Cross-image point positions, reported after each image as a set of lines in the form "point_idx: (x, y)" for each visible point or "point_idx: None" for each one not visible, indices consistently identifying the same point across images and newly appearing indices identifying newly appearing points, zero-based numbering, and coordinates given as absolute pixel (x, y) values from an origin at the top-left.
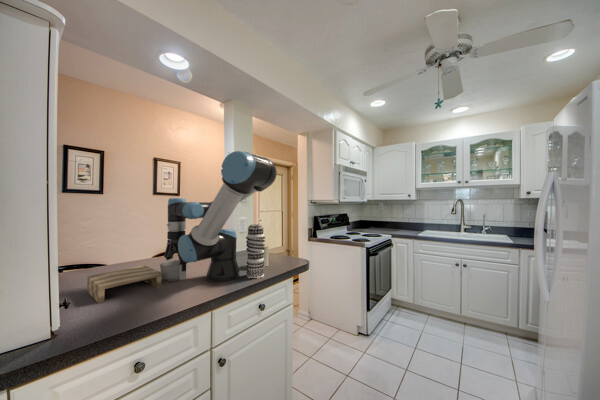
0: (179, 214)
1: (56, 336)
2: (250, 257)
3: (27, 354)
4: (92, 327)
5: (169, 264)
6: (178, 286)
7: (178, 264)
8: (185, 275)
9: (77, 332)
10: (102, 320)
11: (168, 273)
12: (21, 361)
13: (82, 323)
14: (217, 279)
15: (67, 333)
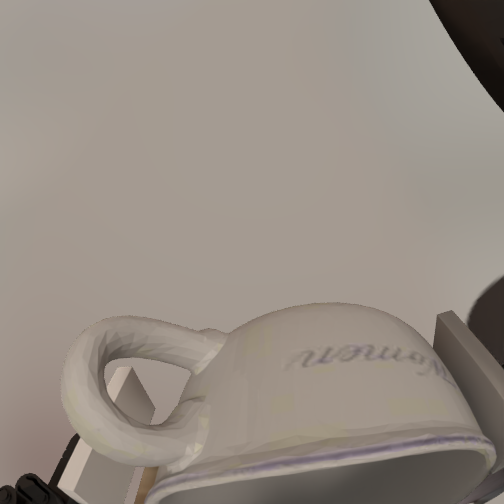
0: None
1: (475, 500)
2: None
3: (489, 498)
4: (499, 477)
5: (179, 493)
6: (495, 356)
7: (481, 481)
8: (462, 329)
9: (492, 486)
10: (491, 478)
11: (398, 468)
12: (498, 493)
13: (468, 497)
14: None
15: (481, 494)
